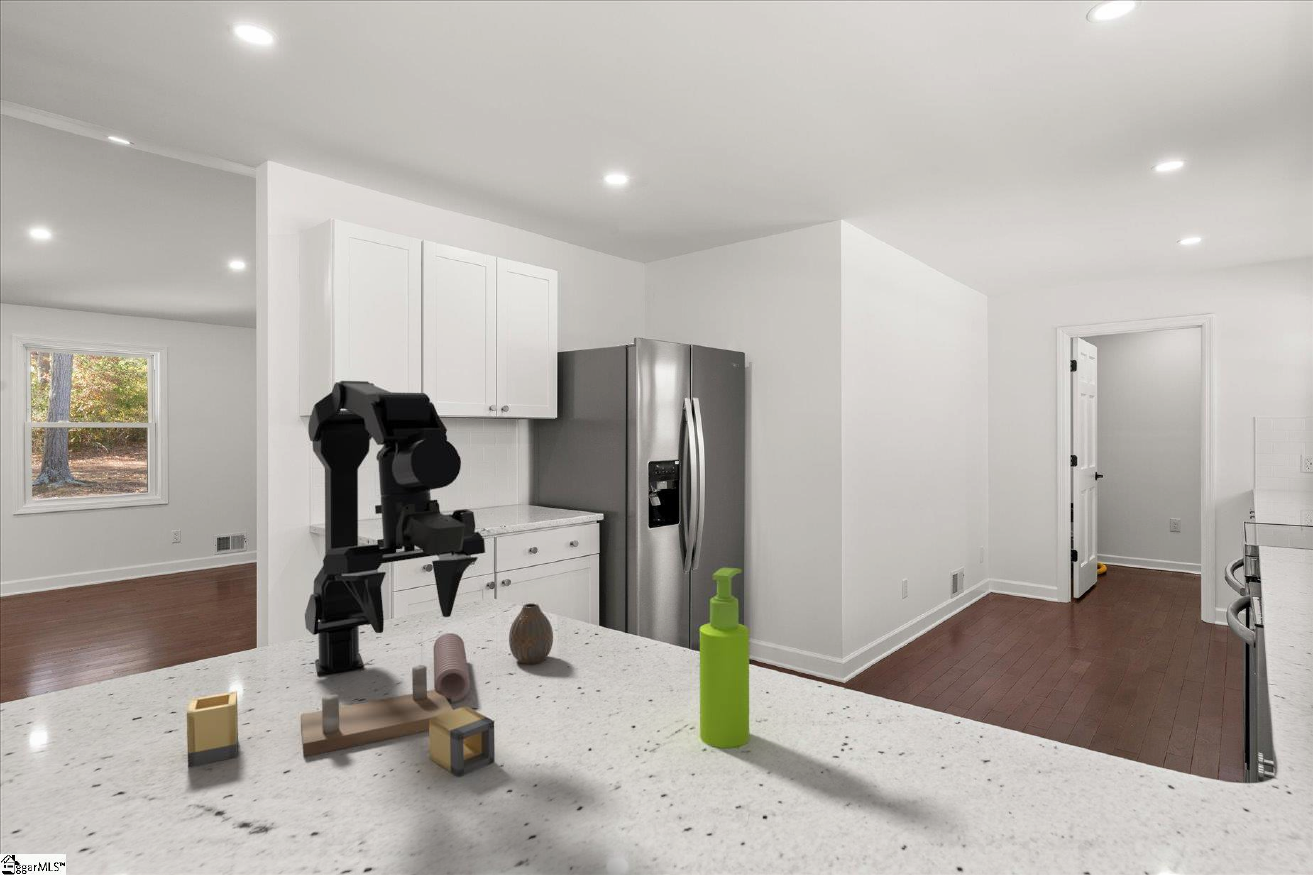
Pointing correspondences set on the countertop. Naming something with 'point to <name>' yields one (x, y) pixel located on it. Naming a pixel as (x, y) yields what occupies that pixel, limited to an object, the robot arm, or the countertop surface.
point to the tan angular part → (461, 740)
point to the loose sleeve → (212, 728)
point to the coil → (451, 667)
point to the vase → (531, 635)
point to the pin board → (371, 718)
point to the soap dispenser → (724, 670)
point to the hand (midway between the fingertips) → (414, 624)
